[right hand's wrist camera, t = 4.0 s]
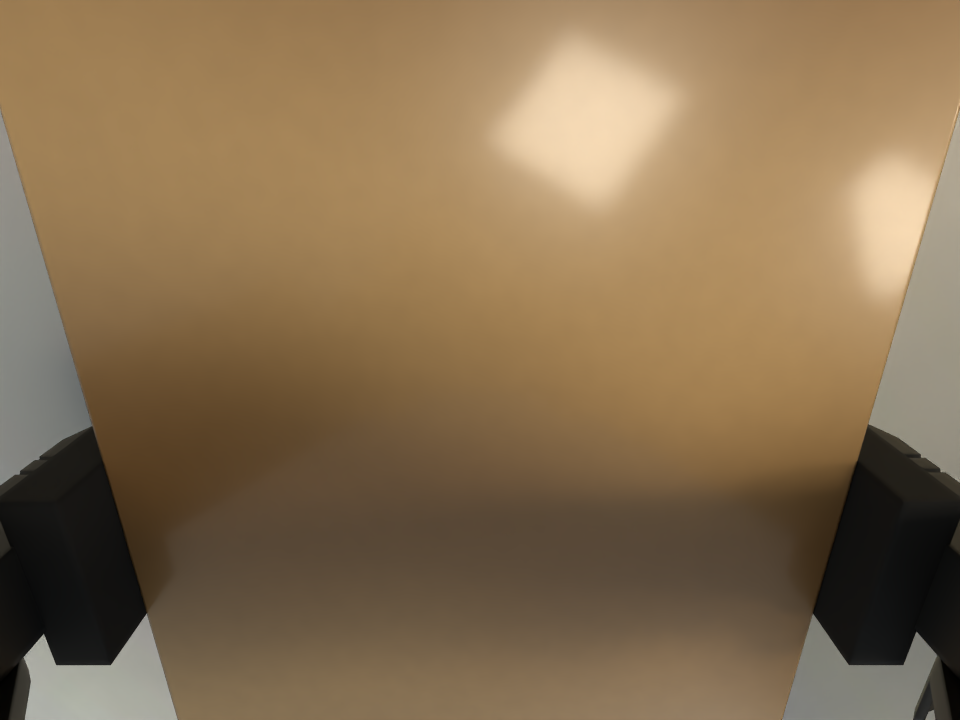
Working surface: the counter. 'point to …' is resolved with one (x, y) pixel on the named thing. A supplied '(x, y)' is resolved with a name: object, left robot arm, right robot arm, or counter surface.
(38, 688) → the counter surface
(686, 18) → the thick board
